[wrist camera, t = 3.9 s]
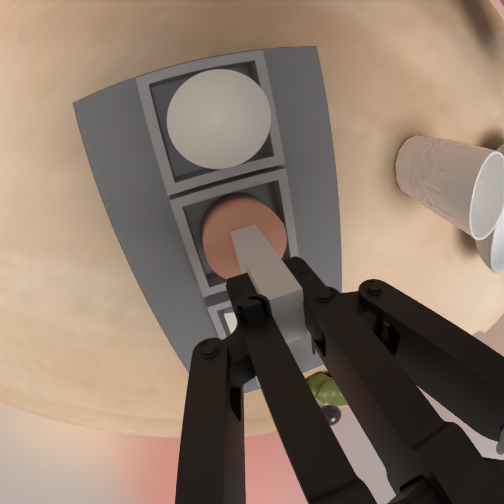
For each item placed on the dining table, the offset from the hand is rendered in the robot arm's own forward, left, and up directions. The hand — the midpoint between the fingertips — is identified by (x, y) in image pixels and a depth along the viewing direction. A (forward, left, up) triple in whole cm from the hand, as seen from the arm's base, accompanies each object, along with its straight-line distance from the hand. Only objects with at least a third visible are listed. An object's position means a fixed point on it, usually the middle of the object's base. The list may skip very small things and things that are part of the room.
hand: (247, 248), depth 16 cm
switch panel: (0, +4, -6) cm, 7 cm away
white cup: (-20, 0, -7) cm, 21 cm away
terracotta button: (0, 0, -3) cm, 3 cm away
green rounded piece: (-8, +29, -7) cm, 31 cm away
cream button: (0, -8, -2) cm, 8 cm away
